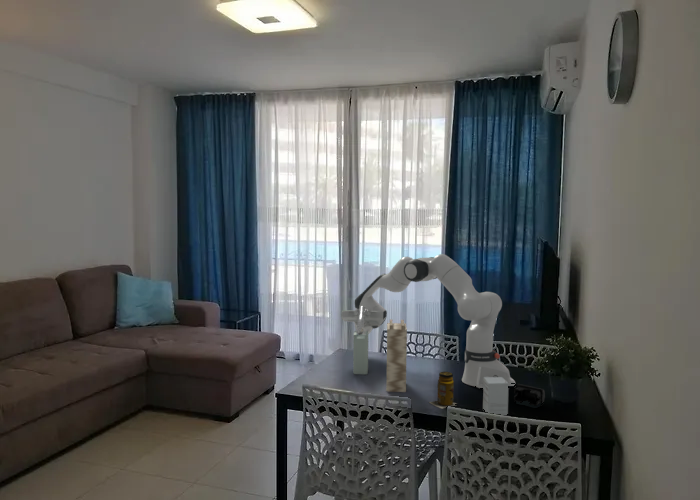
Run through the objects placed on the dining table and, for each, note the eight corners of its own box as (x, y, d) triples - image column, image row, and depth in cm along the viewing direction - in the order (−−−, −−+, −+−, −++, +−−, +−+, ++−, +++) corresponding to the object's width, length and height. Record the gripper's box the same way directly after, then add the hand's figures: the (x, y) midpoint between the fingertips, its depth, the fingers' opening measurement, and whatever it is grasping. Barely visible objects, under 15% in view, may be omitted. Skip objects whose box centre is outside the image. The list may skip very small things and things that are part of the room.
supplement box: (501, 409, 197) (502, 376, 196) (508, 417, 190) (509, 383, 189) (482, 409, 197) (483, 376, 196) (487, 417, 189) (488, 383, 189)
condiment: (458, 404, 202) (458, 374, 201) (441, 409, 197) (442, 377, 196) (444, 399, 208) (445, 369, 207) (428, 403, 203) (429, 372, 202)
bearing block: (405, 382, 227) (405, 319, 225) (405, 392, 215) (406, 325, 213) (386, 382, 228) (387, 319, 226) (386, 391, 216) (387, 325, 214)
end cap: (544, 404, 203) (545, 387, 202) (538, 409, 197) (539, 392, 197) (519, 398, 209) (519, 382, 208) (512, 403, 203) (513, 386, 203)
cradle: (368, 369, 247) (368, 331, 245) (367, 374, 239) (367, 335, 237) (354, 368, 247) (354, 330, 246) (353, 374, 239) (353, 334, 238)
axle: (359, 311, 251) (359, 305, 250) (365, 311, 251) (365, 305, 250) (356, 334, 233) (356, 328, 232) (363, 334, 233) (363, 328, 232)
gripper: (342, 313, 262) (340, 303, 249) (383, 314, 260) (383, 305, 248) (341, 325, 259) (339, 316, 246) (383, 326, 257) (383, 317, 245)
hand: (361, 310), depth 247 cm, fingers closed on axle, 3 cm apart
